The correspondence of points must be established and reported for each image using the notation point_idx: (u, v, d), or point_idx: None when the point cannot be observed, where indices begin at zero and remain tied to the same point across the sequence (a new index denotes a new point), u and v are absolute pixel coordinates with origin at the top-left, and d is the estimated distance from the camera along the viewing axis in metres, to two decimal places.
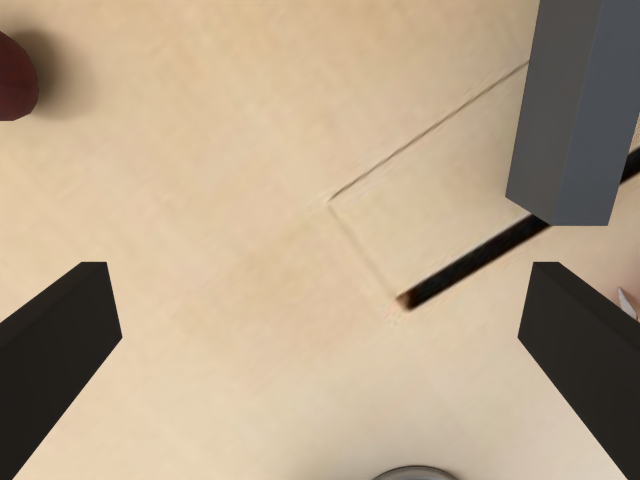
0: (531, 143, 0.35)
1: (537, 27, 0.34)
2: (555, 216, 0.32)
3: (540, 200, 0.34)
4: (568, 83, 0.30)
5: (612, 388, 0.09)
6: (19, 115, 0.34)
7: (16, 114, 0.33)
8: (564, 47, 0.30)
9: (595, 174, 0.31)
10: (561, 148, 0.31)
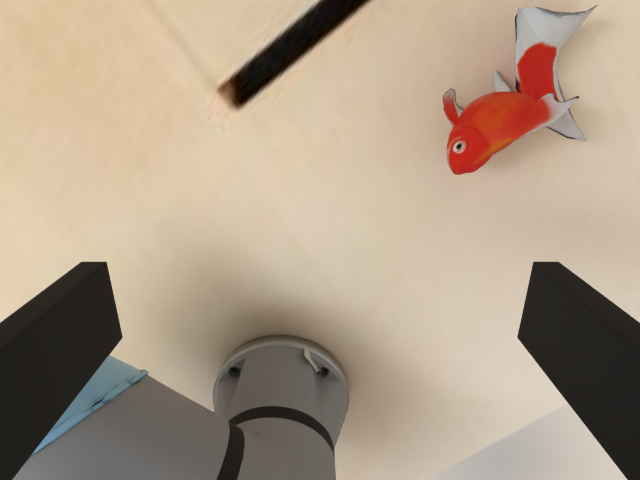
0: None
1: None
2: None
3: None
4: None
5: (612, 388, 0.09)
6: None
7: None
8: None
9: None
10: None
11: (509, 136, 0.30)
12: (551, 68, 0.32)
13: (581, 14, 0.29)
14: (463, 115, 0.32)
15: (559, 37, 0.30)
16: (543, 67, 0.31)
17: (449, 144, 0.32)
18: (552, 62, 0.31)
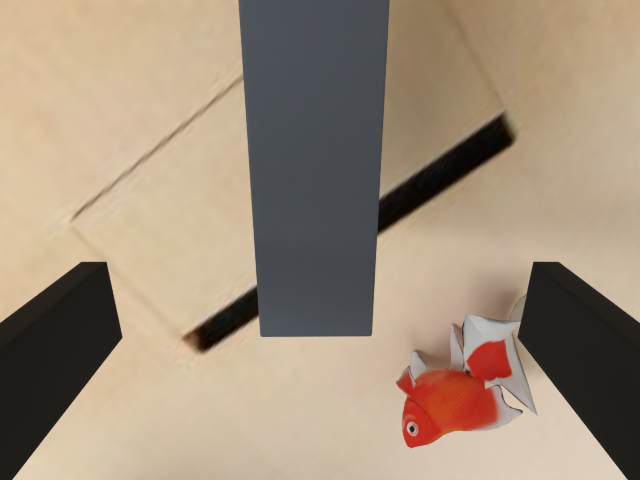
0: None
1: None
2: (263, 320, 0.16)
3: None
4: None
5: (613, 389, 0.09)
6: None
7: None
8: None
9: (320, 241, 0.15)
10: None
11: (459, 426, 0.31)
12: (503, 343, 0.33)
13: None
14: (417, 390, 0.33)
15: (507, 333, 0.30)
16: (493, 351, 0.32)
17: (404, 418, 0.33)
18: (503, 340, 0.32)
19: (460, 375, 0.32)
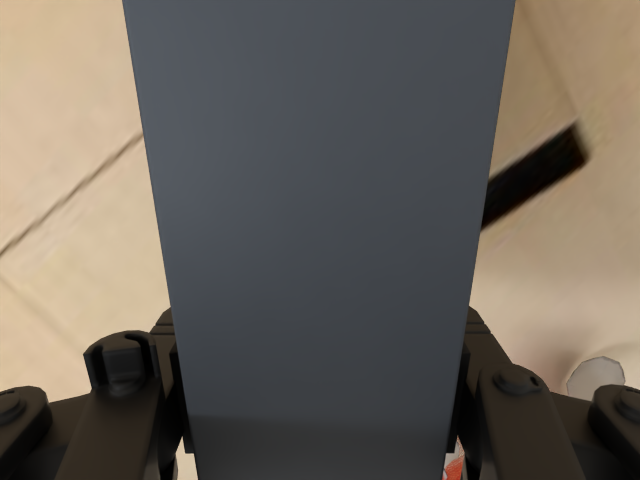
0: None
1: None
2: None
3: None
4: None
5: None
6: None
7: None
8: None
9: (330, 423, 0.07)
10: None
11: None
12: None
13: None
14: None
15: None
16: None
17: None
18: None
19: None
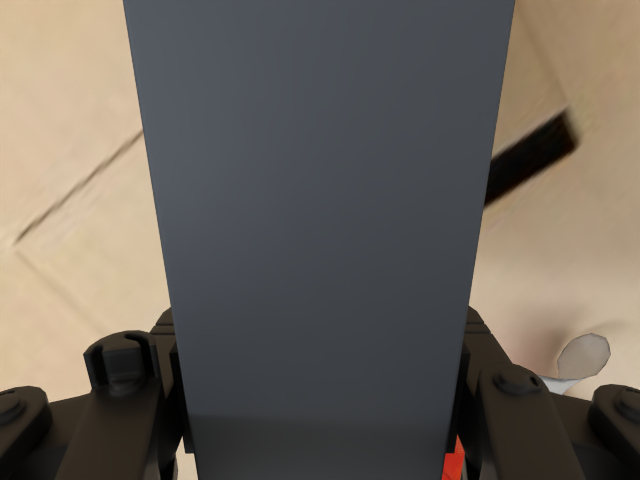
0: None
1: None
2: None
3: None
4: None
5: None
6: None
7: None
8: None
9: (330, 423, 0.07)
10: None
11: None
12: None
13: None
14: (445, 455, 0.26)
15: (562, 391, 0.24)
16: None
17: None
18: None
19: None
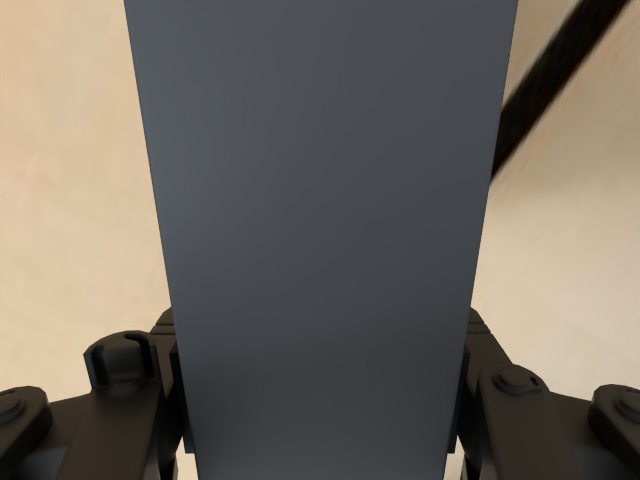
0: None
1: None
2: None
3: None
4: None
5: None
6: None
7: None
8: None
9: (331, 422, 0.07)
10: None
11: None
12: None
13: None
14: None
15: None
16: None
17: None
18: None
19: None
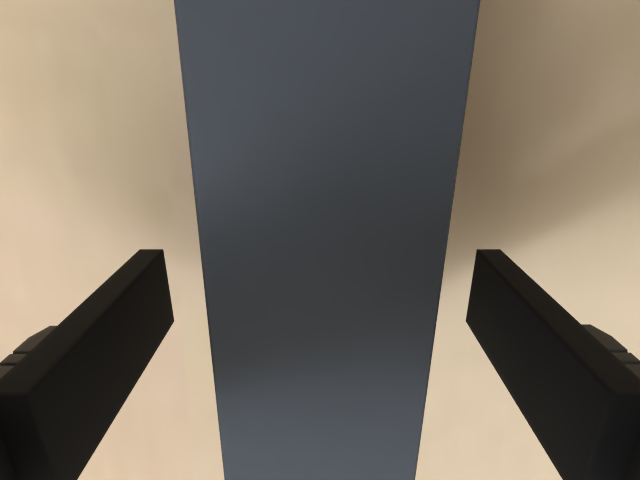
0: None
1: None
2: None
3: None
4: None
5: (529, 360, 0.10)
6: None
7: None
8: None
9: (330, 369, 0.08)
10: None
11: None
12: None
13: None
14: None
15: None
16: None
17: None
18: None
19: None
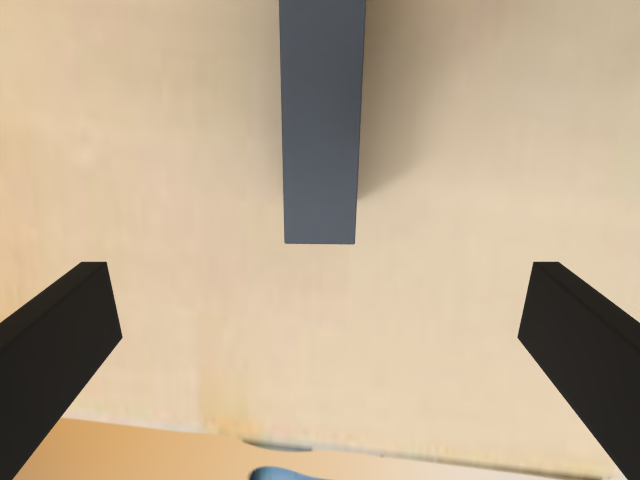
0: None
1: None
2: (287, 232, 0.26)
3: None
4: None
5: (612, 388, 0.09)
6: None
7: None
8: None
9: (323, 180, 0.24)
10: None
11: None
12: None
13: None
14: None
15: None
16: None
17: None
18: None
19: None
